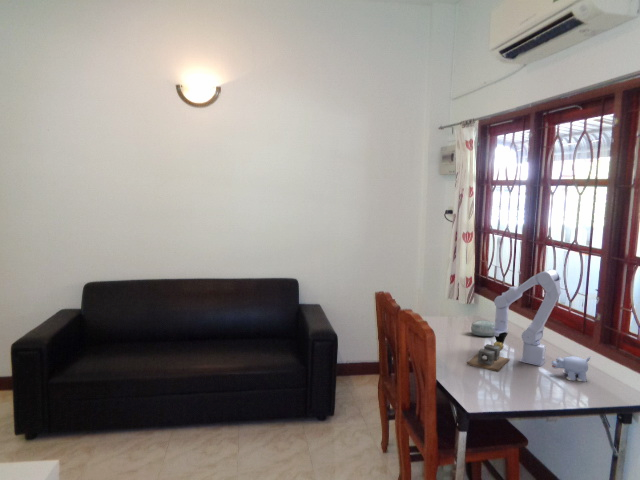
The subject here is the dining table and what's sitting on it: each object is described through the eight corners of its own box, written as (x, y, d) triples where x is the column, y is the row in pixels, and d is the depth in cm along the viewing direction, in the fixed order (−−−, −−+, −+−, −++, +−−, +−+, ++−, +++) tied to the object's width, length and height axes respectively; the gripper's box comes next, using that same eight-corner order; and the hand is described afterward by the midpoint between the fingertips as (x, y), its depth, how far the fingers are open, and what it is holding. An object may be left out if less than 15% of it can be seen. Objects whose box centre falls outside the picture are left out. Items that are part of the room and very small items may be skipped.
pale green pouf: (497, 327, 273) (494, 314, 268) (499, 339, 265) (497, 326, 260) (471, 330, 277) (468, 317, 272) (473, 343, 269) (470, 330, 264)
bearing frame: (509, 360, 232) (510, 347, 231) (498, 371, 218) (499, 357, 217) (479, 354, 240) (480, 341, 239) (467, 364, 226) (467, 350, 225)
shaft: (503, 351, 239) (503, 342, 239) (488, 364, 222) (489, 354, 221) (494, 349, 242) (494, 340, 241) (478, 362, 224) (479, 352, 224)
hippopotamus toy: (548, 369, 222) (550, 349, 221) (585, 373, 218) (587, 352, 217) (554, 378, 212) (555, 357, 210) (592, 382, 208) (594, 361, 207)
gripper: (497, 315, 248) (496, 341, 250) (488, 321, 237) (486, 349, 238) (512, 317, 244) (510, 344, 246) (503, 324, 233) (501, 352, 234)
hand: (499, 347), depth 242 cm, fingers closed
